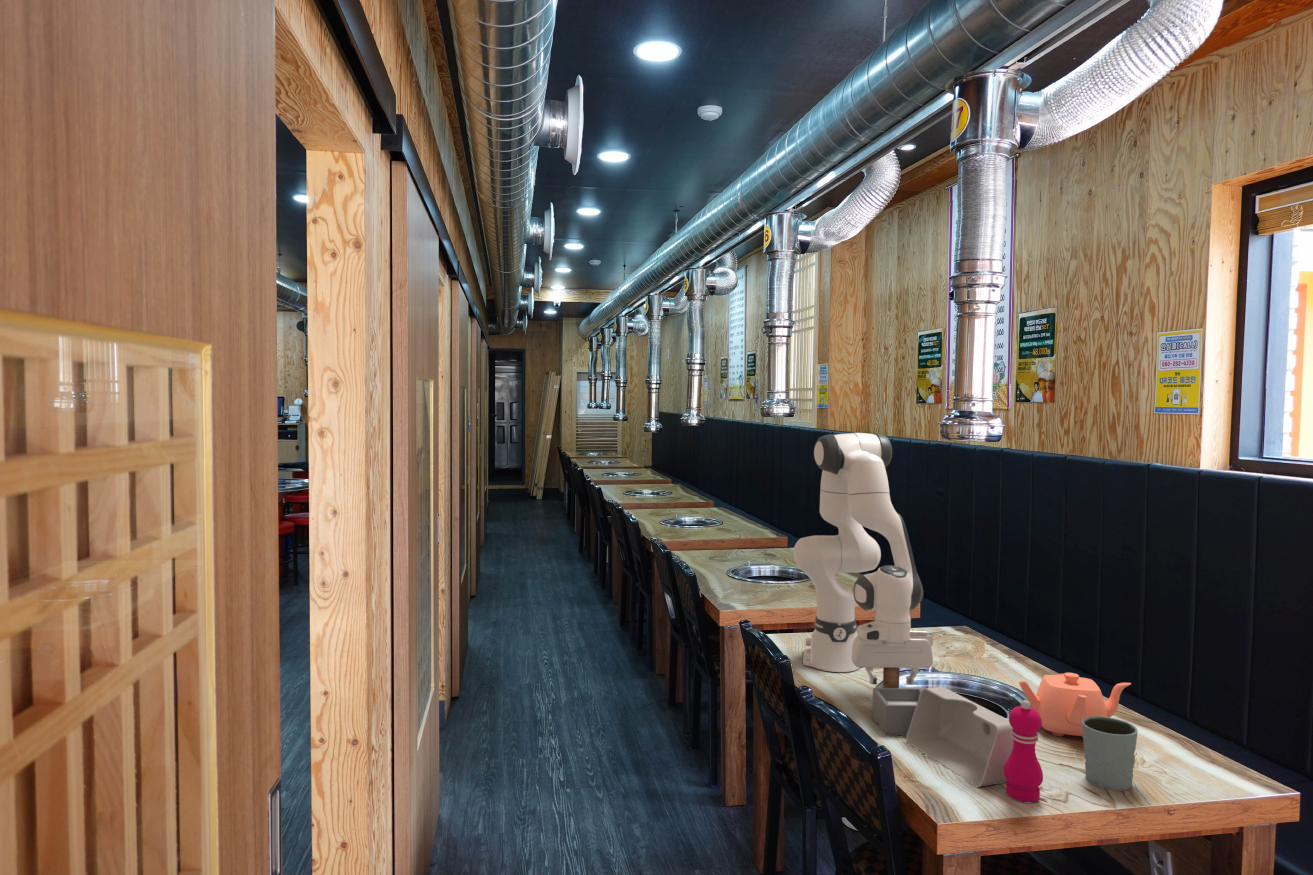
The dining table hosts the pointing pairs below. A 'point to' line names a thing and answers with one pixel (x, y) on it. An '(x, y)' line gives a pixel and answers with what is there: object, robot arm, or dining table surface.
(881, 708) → the box
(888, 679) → the walnut peg
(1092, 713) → the teapot
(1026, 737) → the pepper mill
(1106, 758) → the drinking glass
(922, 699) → the beige storage bin
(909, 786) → the dining table surface
